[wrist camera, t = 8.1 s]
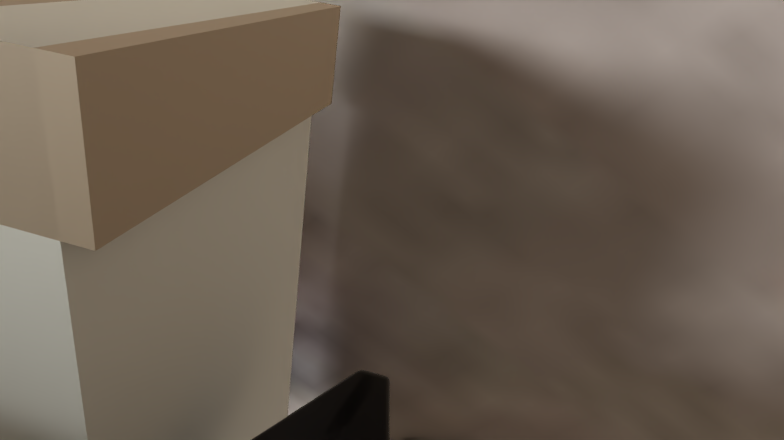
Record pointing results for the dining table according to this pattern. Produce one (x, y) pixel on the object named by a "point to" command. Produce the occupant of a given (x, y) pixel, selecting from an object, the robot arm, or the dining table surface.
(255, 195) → the gate
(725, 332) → the dining table surface
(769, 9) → the dining table surface
